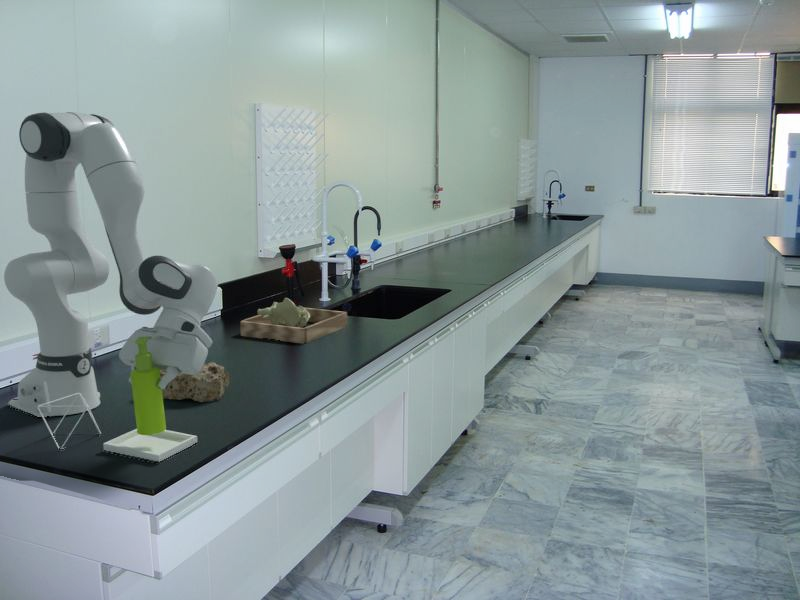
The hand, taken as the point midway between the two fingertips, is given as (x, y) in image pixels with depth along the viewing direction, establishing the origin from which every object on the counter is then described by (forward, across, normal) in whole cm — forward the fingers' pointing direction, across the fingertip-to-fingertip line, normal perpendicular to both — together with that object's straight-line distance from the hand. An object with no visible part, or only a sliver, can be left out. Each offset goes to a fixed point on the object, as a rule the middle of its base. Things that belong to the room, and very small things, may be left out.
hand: (145, 385), depth 161 cm
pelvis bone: (-66, -35, +86) cm, 114 cm away
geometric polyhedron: (+12, -19, +8) cm, 24 cm away
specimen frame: (-66, -31, +86) cm, 113 cm away
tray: (+10, 0, +10) cm, 14 cm away
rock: (-14, -17, +34) cm, 41 cm away
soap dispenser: (+7, 0, +8) cm, 10 cm away
